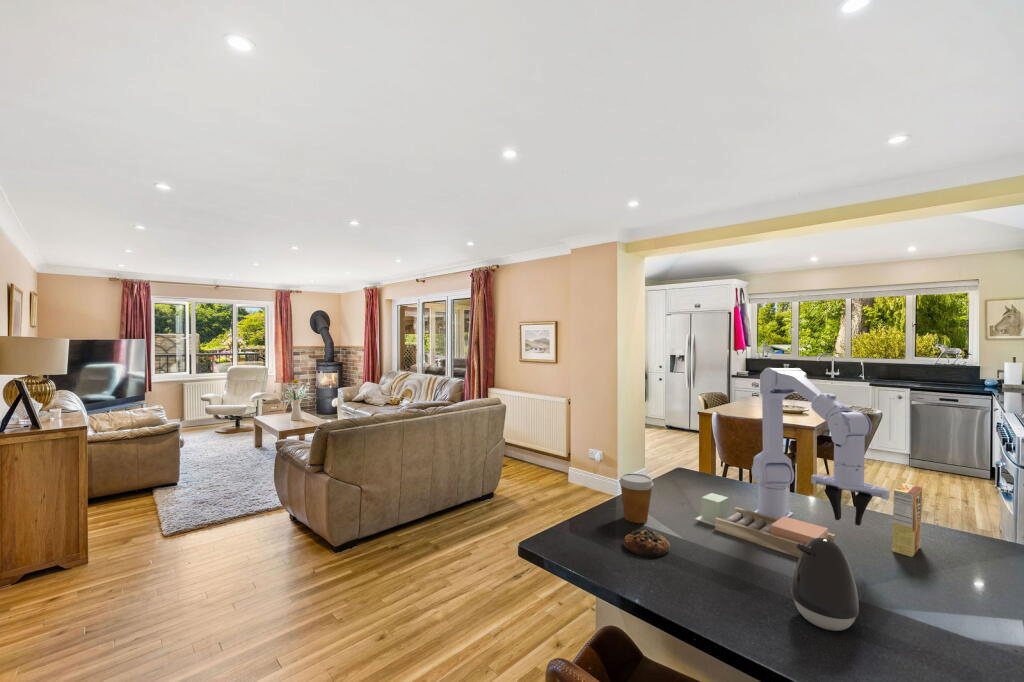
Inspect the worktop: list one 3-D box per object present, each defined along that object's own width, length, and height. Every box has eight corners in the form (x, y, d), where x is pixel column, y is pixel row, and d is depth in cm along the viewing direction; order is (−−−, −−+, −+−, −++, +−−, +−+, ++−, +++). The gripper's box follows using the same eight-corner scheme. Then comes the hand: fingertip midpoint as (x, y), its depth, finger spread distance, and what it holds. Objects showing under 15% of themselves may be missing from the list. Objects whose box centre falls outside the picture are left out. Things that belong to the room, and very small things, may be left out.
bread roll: (636, 560, 105) (635, 537, 106) (615, 545, 116) (615, 525, 117) (679, 557, 107) (678, 535, 108) (655, 543, 118) (654, 523, 119)
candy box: (899, 541, 116) (900, 482, 116) (921, 547, 113) (922, 486, 113) (891, 551, 111) (892, 489, 111) (914, 558, 108) (915, 494, 107)
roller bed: (711, 510, 136) (712, 500, 136) (834, 547, 113) (835, 534, 113) (690, 522, 127) (690, 510, 127) (818, 564, 104) (819, 550, 104)
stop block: (711, 513, 134) (711, 492, 134) (728, 518, 130) (728, 497, 130) (701, 518, 130) (701, 497, 130) (718, 523, 126) (719, 502, 126)
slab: (783, 525, 120) (783, 516, 120) (827, 538, 112) (828, 528, 112) (770, 535, 114) (770, 525, 114) (816, 549, 106) (816, 538, 106)
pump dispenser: (777, 606, 87) (778, 527, 87) (827, 604, 88) (828, 526, 88) (817, 641, 77) (818, 552, 77) (874, 638, 78) (875, 551, 78)
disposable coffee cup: (653, 515, 132) (654, 474, 132) (652, 528, 123) (653, 484, 123) (620, 511, 135) (620, 471, 135) (616, 523, 126) (617, 480, 126)
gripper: (807, 459, 108) (806, 516, 108) (885, 473, 97) (884, 536, 97) (816, 455, 113) (815, 509, 113) (891, 468, 102) (890, 528, 102)
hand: (848, 521), depth 105 cm, fingers open, 3 cm apart
